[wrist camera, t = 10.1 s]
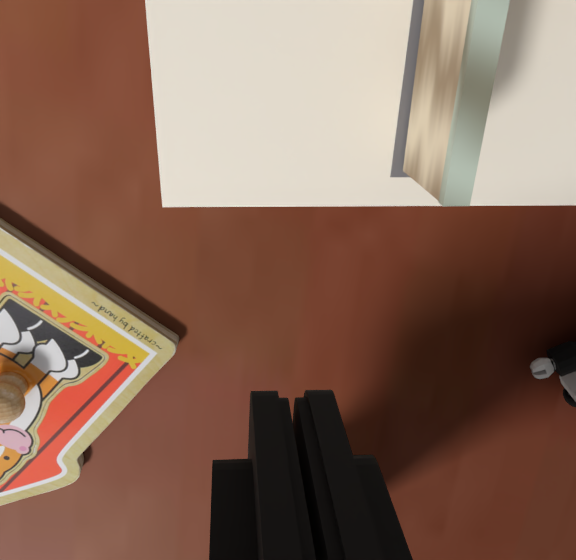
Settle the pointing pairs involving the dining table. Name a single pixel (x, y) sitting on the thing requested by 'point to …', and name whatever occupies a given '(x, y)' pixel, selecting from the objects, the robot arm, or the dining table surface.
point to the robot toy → (559, 368)
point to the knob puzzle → (63, 364)
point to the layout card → (345, 103)
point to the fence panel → (452, 94)
